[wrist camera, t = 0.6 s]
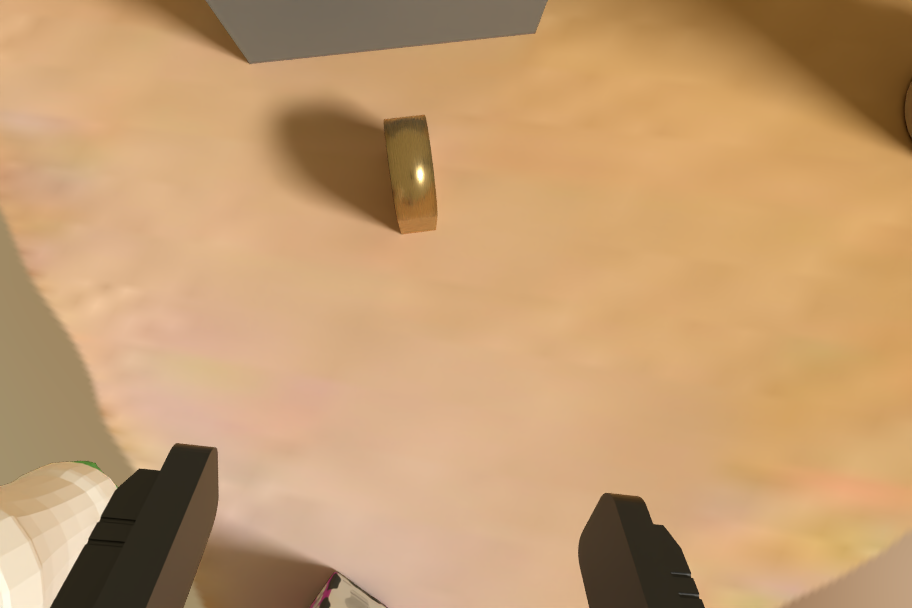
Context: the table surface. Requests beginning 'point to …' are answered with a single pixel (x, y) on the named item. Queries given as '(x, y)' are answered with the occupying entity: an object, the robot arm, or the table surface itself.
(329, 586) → the candy bar box
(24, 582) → the cup
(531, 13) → the coin box
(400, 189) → the token
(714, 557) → the table surface
